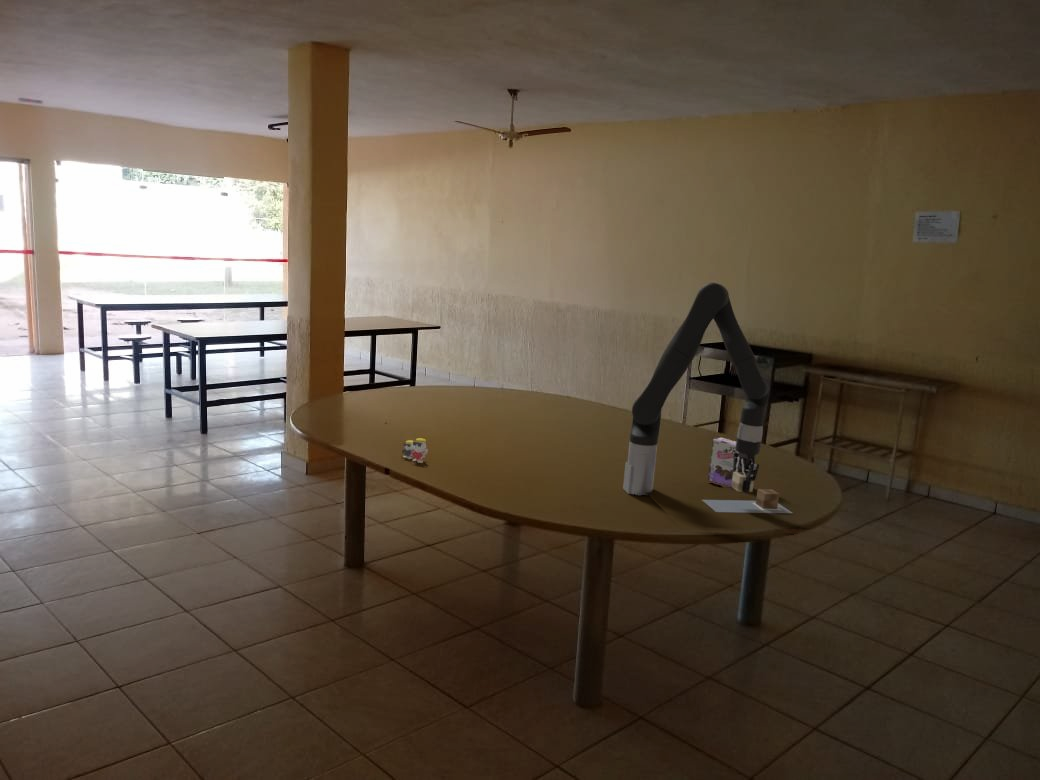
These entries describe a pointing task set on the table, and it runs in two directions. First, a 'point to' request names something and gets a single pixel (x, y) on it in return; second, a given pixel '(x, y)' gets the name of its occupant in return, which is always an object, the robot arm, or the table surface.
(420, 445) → the toy figures
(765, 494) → the walnut block
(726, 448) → the candy box
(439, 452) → the table surface
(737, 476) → the birch block
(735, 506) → the board
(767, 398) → the robot arm
